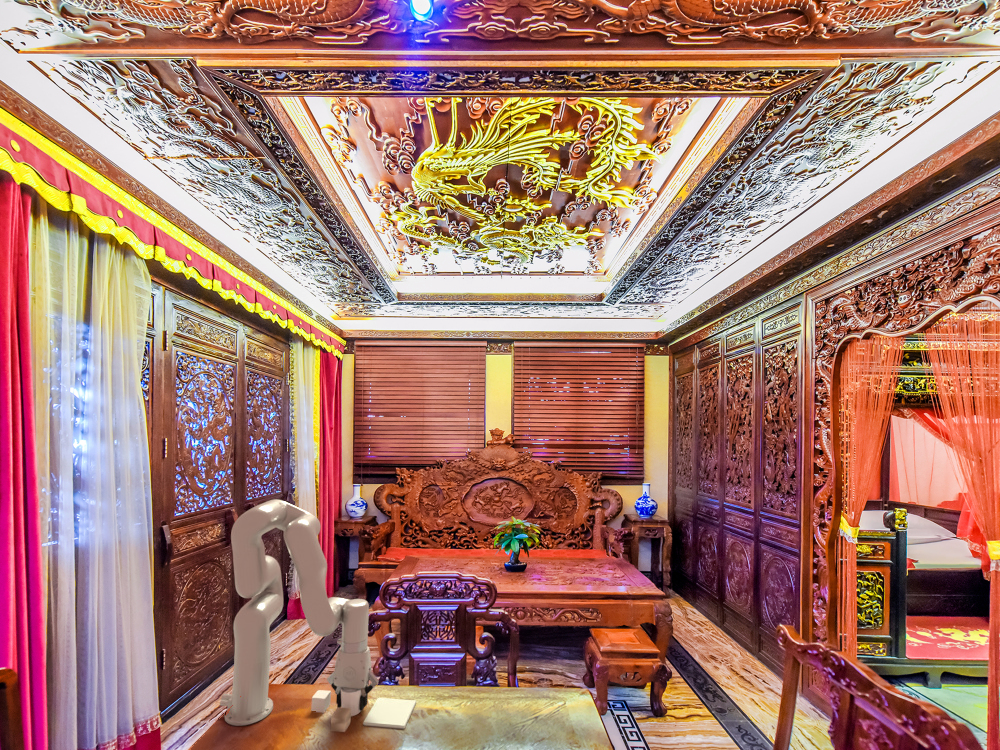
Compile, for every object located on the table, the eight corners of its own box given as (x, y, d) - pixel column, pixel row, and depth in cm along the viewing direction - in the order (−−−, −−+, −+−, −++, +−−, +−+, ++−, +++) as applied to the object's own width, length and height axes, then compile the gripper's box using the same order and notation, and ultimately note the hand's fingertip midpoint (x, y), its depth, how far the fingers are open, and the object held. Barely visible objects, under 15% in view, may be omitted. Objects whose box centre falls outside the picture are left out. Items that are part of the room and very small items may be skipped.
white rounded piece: (356, 719, 138) (357, 693, 139) (334, 715, 139) (335, 690, 140) (367, 705, 145) (368, 681, 145) (346, 702, 146) (348, 678, 147)
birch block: (330, 731, 133) (331, 716, 133) (336, 722, 137) (337, 707, 137) (344, 732, 132) (345, 717, 133) (350, 723, 136) (351, 708, 137)
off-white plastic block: (311, 711, 141) (311, 697, 142) (317, 703, 145) (318, 689, 146) (324, 712, 141) (324, 698, 141) (330, 704, 145) (330, 690, 145)
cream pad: (363, 725, 136) (363, 722, 136) (378, 700, 147) (378, 697, 148) (404, 728, 134) (404, 725, 134) (416, 703, 146) (416, 700, 146)
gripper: (321, 648, 141) (317, 712, 139) (377, 652, 139) (375, 717, 138) (332, 636, 148) (329, 697, 147) (386, 640, 147) (384, 701, 145)
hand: (351, 706), depth 142 cm, fingers closed on white rounded piece, 6 cm apart
